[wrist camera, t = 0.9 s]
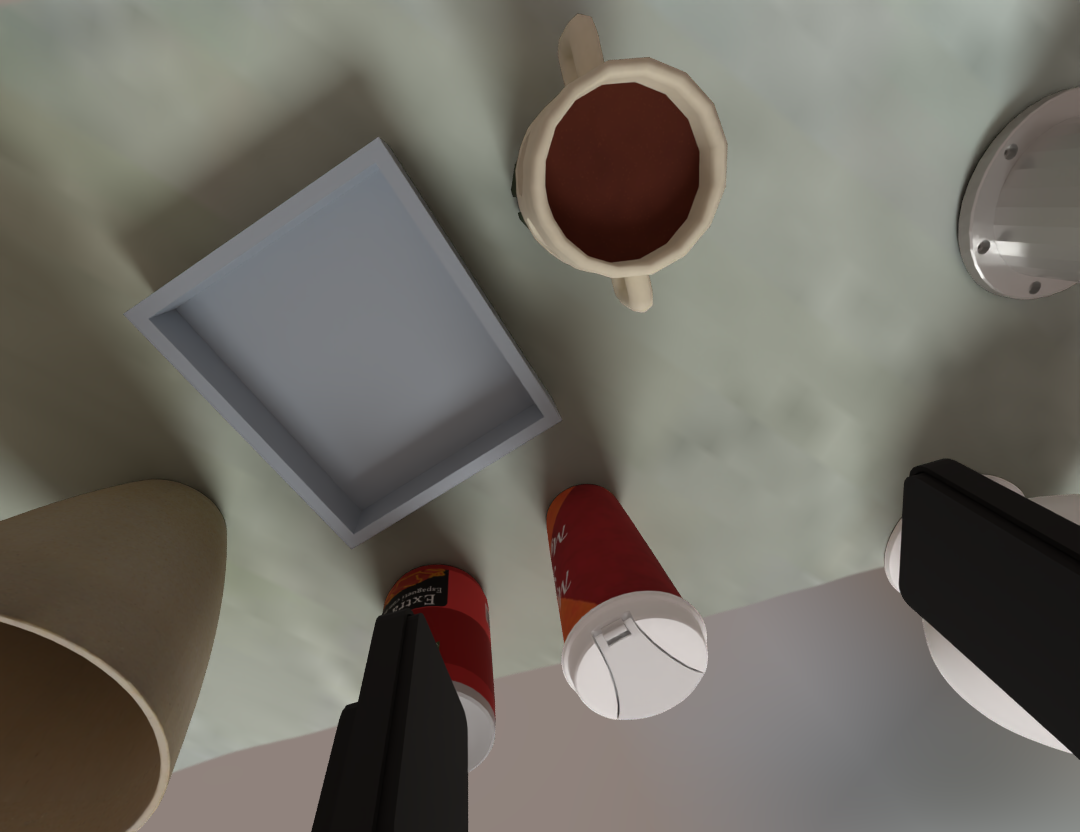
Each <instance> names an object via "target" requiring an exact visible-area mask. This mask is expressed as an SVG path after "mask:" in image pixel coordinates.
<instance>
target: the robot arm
mask: <svg viewBox="0 0 1080 832" xmlns="http://www.w3.org/2000/svg"><path fill="white" fill-rule="evenodd" d="M958 241H959V246H960V252H961V257H962V260H963V262H964V264H965V267H966V269H967V271H968V273H969V274H970V275H971V277H972V278H973V279H974V281H975V282H976V283H977V284H978V285H980V286H981V287H982V288H984V289H985V290H986V291H988V292H991V293H993V294H996V295H998V296H1003V297H1009V298H1014V299H1027V300H1031V299H1037V298H1042V297H1047V296H1051V295H1053V294H1056V293H1058V292H1061V291H1063V290H1066V289H1068V288H1069V287H1071V286H1073V285H1075V284H1076V283H1078V282H1080V87H1075V88H1071V89H1066V90H1062V91H1059V92H1057V93H1054V94H1052V95H1049V96H1047V97H1044V98H1043V99H1041V100H1039V101H1038V102H1036V103H1035V104H1033V105H1031V106H1030V107H1028V108H1026V109H1025V110H1024V111H1023V112H1022V113H1020V114H1019V115H1018V116H1017V117H1016V118H1014V119H1013V120H1012V121H1011V122H1010V123H1009V124H1008V125H1007V126H1006V127H1005V128H1004V129H1003V130H1002V131H1001V133H1000V134H999V135H998V136H997V137H996V138H995V139H994V140H993V142H992V143H991V145H990V146H989V148H988V149H987V150H986V152H985V153H984V155H983V156H982V158H981V159H980V161H979V163H978V165H977V167H976V169H975V171H974V173H973V175H972V177H971V179H970V181H969V184H968V187H967V190H966V192H965V195H964V198H963V201H962V206H961V212H960V217H959V235H958ZM899 590H900V593H901V595H902V597H903V599H904V600H905V602H906V603H907V604H908V605H909V606H910V607H911V608H912V609H913V610H915V611H916V612H917V613H918V614H919V615H920V616H921V617H922V618H923V619H924V620H926V621H927V622H928V623H929V624H930V625H931V626H932V627H933V628H934V629H935V630H937V631H938V632H939V633H940V634H941V635H942V636H943V637H944V638H945V639H947V640H948V641H949V642H950V643H951V644H952V645H953V646H954V647H955V648H957V649H958V650H959V651H960V652H961V653H962V654H963V655H964V656H965V657H966V658H968V659H969V660H970V661H971V662H972V663H973V664H974V665H975V666H976V667H978V668H979V669H980V670H981V671H982V672H983V673H984V674H985V675H986V676H988V677H989V678H990V679H991V680H992V681H993V682H994V683H995V684H996V685H997V686H999V687H1000V688H1001V689H1002V690H1003V691H1004V692H1005V693H1006V694H1007V695H1009V696H1010V697H1011V698H1012V699H1013V700H1014V701H1015V702H1016V703H1017V704H1019V705H1020V706H1021V707H1022V708H1023V709H1024V710H1025V711H1026V712H1027V713H1028V714H1030V715H1031V716H1032V717H1033V718H1034V719H1035V720H1036V721H1037V722H1038V723H1040V724H1041V725H1042V726H1043V727H1044V728H1045V729H1046V730H1047V731H1048V732H1050V733H1051V734H1052V735H1053V736H1054V737H1055V738H1056V739H1057V740H1058V741H1059V742H1061V743H1062V744H1063V745H1064V746H1065V747H1066V748H1067V749H1068V750H1069V751H1071V752H1072V753H1073V754H1074V755H1075V756H1076V757H1077V758H1078V759H1079V760H1080V526H1079V525H1077V524H1076V523H1074V522H1072V521H1070V520H1068V519H1066V518H1064V517H1062V516H1060V515H1058V514H1056V513H1054V512H1053V511H1051V510H1049V509H1047V508H1045V507H1043V506H1041V505H1039V504H1037V503H1035V502H1033V501H1031V500H1029V499H1028V498H1026V497H1024V496H1022V495H1020V494H1018V493H1016V492H1014V491H1012V490H1010V489H1008V488H1006V487H1005V486H1003V485H1001V484H999V483H997V482H995V481H993V480H991V479H989V478H987V477H985V476H983V475H982V474H980V473H978V472H976V471H974V470H972V469H970V468H968V467H966V466H964V465H962V464H960V463H958V462H957V461H954V460H951V459H941V460H937V461H934V462H930V463H927V464H923V465H919V466H916V467H914V468H913V469H912V470H911V472H910V475H909V477H907V478H906V480H905V482H904V493H903V512H902V530H901V549H900V567H899ZM311 832H468V726H467V719H466V715H465V711H464V708H463V706H462V704H461V701H460V699H459V696H458V694H457V692H456V689H455V687H454V685H453V682H452V680H451V677H450V675H449V673H448V670H447V668H446V666H445V663H444V661H443V659H442V656H441V654H440V651H439V649H438V647H437V644H436V642H435V640H434V637H433V635H432V633H431V630H430V628H429V625H428V623H427V621H426V618H425V616H424V615H423V614H422V613H418V614H415V615H414V613H413V611H412V610H411V609H410V608H405V609H402V610H398V611H395V612H391V613H388V614H384V615H380V616H379V617H378V618H377V620H376V622H375V627H374V631H373V636H372V640H371V645H370V650H369V654H368V659H367V663H366V668H365V672H364V677H363V681H362V686H361V691H360V695H359V700H358V702H356V703H352V704H349V705H347V706H346V707H345V708H344V710H343V711H342V713H341V716H340V719H339V723H338V727H337V731H336V735H335V739H334V743H333V747H332V751H331V755H330V759H329V763H328V767H327V771H326V775H325V779H324V783H323V787H322V791H321V795H320V799H319V803H318V808H317V811H316V815H315V819H314V823H313V827H312V831H311Z"/></svg>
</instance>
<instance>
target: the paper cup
mask: <svg viewBox="0 0 1080 832" xmlns="http://www.w3.org/2000/svg"><path fill="white" fill-rule="evenodd" d="M547 533H548V541H549V548H550V555H551V562H552V568H553V575H554V581H555V587H556V594H557V600H558V606H559V613H560V619H561V626H562V632H563V638H564V646H563V650H562V660H561V663H562V669H563V673H564V676H565V678H566V680H567V682H568V683H569V685H570V686H571V687H572V689H573V690H575V692H577V694H578V695H579V697H580V698H581V700H582V701H583V703H585V704H586V705H587V706H588V707H589V708H590V709H591V710H593V711H594V712H596V713H597V714H599V715H602V716H604V717H607V718H611V719H616V720H617V718H618V720H629V719H642V718H646V717H651V716H654V715H657V714H660V713H662V712H664V711H666V710H668V709H670V708H672V707H673V706H675V705H677V704H678V703H680V702H681V701H683V700H684V699H685V698H686V697H687V696H688V695H689V694H690V693H691V692H692V691H693V690H694V689H695V687H696V686H697V685H698V683H699V681H700V680H701V678H702V676H703V675H704V673H705V671H706V667H707V662H708V650H707V645H706V644H707V632H706V627H705V623H704V621H703V619H702V617H701V615H700V614H699V612H698V611H697V610H696V608H695V607H693V606H692V605H691V604H690V603H689V602H687V601H686V600H684V599H683V598H682V597H681V595H680V594H679V592H678V591H677V589H676V588H675V586H674V585H673V583H672V582H671V580H670V579H669V577H668V576H667V574H666V572H665V571H664V569H663V568H662V566H661V565H660V563H659V562H658V560H657V559H656V557H655V556H654V554H653V552H652V551H651V549H650V548H649V546H648V545H647V543H646V542H645V540H644V539H643V537H642V536H641V534H640V533H639V531H638V530H637V528H636V527H635V525H634V524H633V522H632V521H631V519H630V518H629V516H628V515H627V513H626V512H625V510H624V509H623V507H622V506H621V504H620V503H619V502H618V500H617V499H616V498H615V497H614V495H613V494H612V493H611V492H609V491H608V490H607V489H605V488H603V487H601V486H598V485H593V484H581V485H576V486H573V487H570V488H568V489H566V490H565V491H563V492H562V493H560V494H559V495H558V496H557V497H556V498H555V499H554V500H553V502H552V503H551V505H550V507H549V509H548V513H547Z"/></svg>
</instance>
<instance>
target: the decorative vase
mask: <svg viewBox="0 0 1080 832" xmlns="http://www.w3.org/2000/svg"><path fill="white" fill-rule="evenodd" d="M983 476H985V477H987V478H989V479H991V480H993V481H995V482H997V483H999V484H1001V485H1003V486H1005V487H1006V488H1008V489H1010V490H1012V491H1014V492H1016V493H1018V494H1020V495H1022V496H1024V494H1023V493H1022V492H1021V490H1020V489H1019V488H1017V487H1016V486H1015V485H1013V484H1012V483H1010V482H1008V481H1006V480H1004V479H1002V478H999V477H996V476H992V475H983ZM1024 497H1025V496H1024ZM1028 499H1029V500H1031V501H1033V502H1035V503H1037V504H1039V505H1041V506H1043V507H1045V508H1047V509H1049V510H1051V511H1053V512H1054V513H1056V514H1058V515H1060V516H1062V517H1064V518H1066V519H1068V520H1070V521H1072V522H1074V523H1076V524H1077V525H1079V526H1080V494H1068V495H1052V496H1041V497H1032V498H1028ZM901 530H902V518H901V519H900V521H899V522H898V524H897V525H896V527H895V528H894V530H893V532H892V534H891V536H890V538H889V541H888V544H887V547H886V551H885V559H884V564H885V571H886V575H887V577H888V580H889V581H890V583H891V584H892V586H893V587H894V588H895V589H896V590H897V591H899V592H900V590H899V567H900V549H901ZM922 620H923V626H924V632H925V636H926V641H927V644H928V648H929V650H930V653H931V656H932V658H933V660H934V662H935V664H936V666H937V668H938V669H939V671H940V673H941V674H942V676H943V677H944V678H945V680H946V681H947V682H948V683H949V684H950V685H951V687H952V688H953V689H954V690H955V691H956V692H957V693H958V694H959V695H960V696H961V697H962V698H963V699H964V700H966V701H967V702H968V703H969V704H970V705H972V706H973V707H974V708H975V709H977V710H978V711H979V712H981V713H982V714H983V715H985V716H986V717H988V718H989V719H991V720H992V721H994V722H996V723H997V724H999V725H1001V726H1003V727H1004V728H1006V729H1008V730H1010V731H1012V732H1014V733H1017V734H1019V735H1021V736H1023V737H1026V738H1028V739H1031V740H1033V741H1036V742H1039V743H1041V744H1044V745H1047V746H1050V747H1053V748H1056V749H1059V750H1062V751H1065V752H1068V753H1071V754H1073V753H1072V752H1071V751H1069V750H1068V749H1067V748H1066V747H1065V746H1064V745H1063V744H1062V743H1061V742H1059V741H1058V740H1057V739H1056V738H1055V737H1054V736H1053V735H1052V734H1051V733H1050V732H1048V731H1047V730H1046V729H1045V728H1044V727H1043V726H1042V725H1041V724H1040V723H1038V722H1037V721H1036V720H1035V719H1034V718H1033V717H1032V716H1031V715H1030V714H1028V713H1027V712H1026V711H1025V710H1024V709H1023V708H1022V707H1021V706H1020V705H1019V704H1017V703H1016V702H1015V701H1014V700H1013V699H1012V698H1011V697H1010V696H1009V695H1007V694H1006V693H1005V692H1004V691H1003V690H1002V689H1001V688H1000V687H999V686H997V685H996V684H995V683H994V682H993V681H992V680H991V679H990V678H989V677H988V676H986V675H985V674H984V673H983V672H982V671H981V670H980V669H979V668H978V667H976V666H975V665H974V664H973V663H972V662H971V661H970V660H969V659H968V658H966V657H965V656H964V655H963V654H962V653H961V652H960V651H959V650H958V649H957V648H955V647H954V646H953V645H952V644H951V643H950V642H949V641H948V640H947V639H945V638H944V637H943V636H942V635H941V634H940V633H939V632H938V631H937V630H935V629H934V628H933V627H932V626H931V625H930V624H929V623H928V622H927V621H926V620H924V619H923V618H922Z"/></svg>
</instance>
